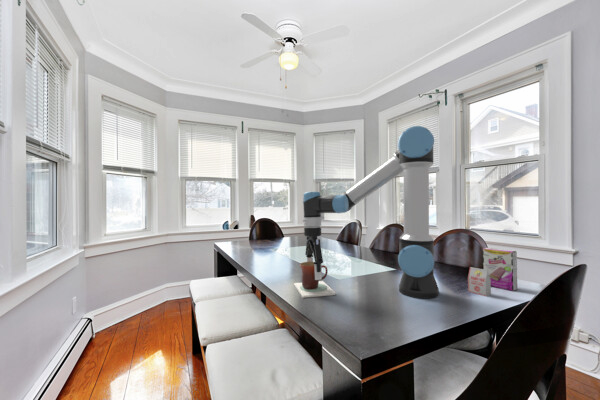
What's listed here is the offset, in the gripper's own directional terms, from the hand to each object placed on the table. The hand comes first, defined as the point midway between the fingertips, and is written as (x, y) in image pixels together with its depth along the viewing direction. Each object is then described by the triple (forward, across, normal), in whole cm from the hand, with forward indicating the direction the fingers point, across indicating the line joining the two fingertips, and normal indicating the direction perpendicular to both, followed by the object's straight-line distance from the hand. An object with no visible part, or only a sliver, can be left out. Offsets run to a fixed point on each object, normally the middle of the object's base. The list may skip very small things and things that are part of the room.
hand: (314, 275), depth 116 cm
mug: (+5, 0, 0) cm, 5 cm away
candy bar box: (+7, +18, +79) cm, 81 cm away
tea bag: (+7, +22, +64) cm, 68 cm away
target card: (+6, 0, 0) cm, 6 cm away
